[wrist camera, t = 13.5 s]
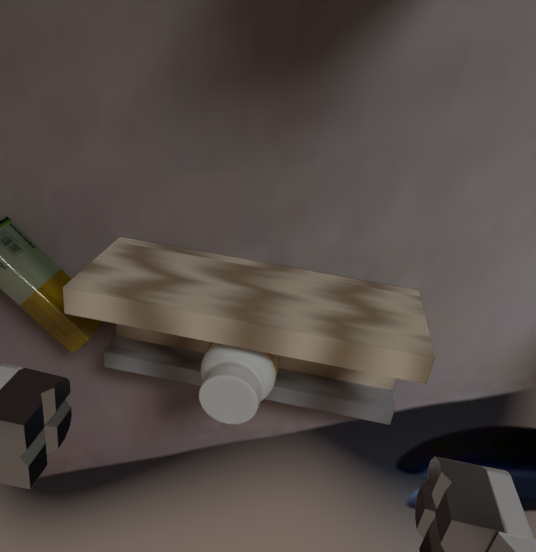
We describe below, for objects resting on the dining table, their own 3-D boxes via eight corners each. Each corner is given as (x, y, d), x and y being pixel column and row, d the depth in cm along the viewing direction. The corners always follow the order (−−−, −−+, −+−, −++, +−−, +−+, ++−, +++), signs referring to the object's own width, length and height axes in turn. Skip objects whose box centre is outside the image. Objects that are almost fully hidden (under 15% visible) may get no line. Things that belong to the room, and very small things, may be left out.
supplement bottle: (262, 283, 40) (236, 353, 31) (300, 334, 41) (286, 414, 32) (209, 313, 42) (172, 387, 33) (248, 361, 43) (221, 443, 34)
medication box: (-11, 232, 43) (-45, 251, 39) (6, 213, 42) (-27, 231, 38) (93, 330, 46) (71, 356, 42) (111, 315, 45) (90, 340, 41)
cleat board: (121, 348, 46) (71, 415, 38) (120, 236, 41) (62, 287, 33) (386, 400, 44) (392, 483, 36) (418, 290, 39) (435, 358, 31)
